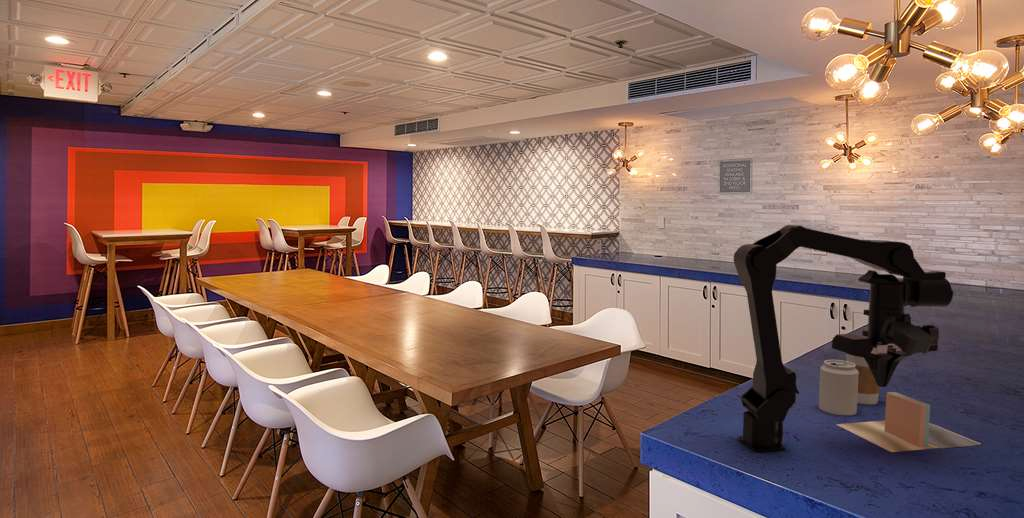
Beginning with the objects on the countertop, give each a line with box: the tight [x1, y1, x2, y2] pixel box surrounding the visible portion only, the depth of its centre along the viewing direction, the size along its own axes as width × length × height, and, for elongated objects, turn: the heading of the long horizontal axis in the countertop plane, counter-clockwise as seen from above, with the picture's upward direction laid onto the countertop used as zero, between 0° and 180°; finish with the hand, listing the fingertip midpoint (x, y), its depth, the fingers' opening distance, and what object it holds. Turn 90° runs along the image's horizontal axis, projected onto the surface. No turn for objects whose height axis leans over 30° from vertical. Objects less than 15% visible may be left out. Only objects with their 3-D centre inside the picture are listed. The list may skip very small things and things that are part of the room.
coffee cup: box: [845, 353, 881, 405], centre depth 136 cm, size 8×8×15 cm
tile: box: [884, 391, 931, 447], centre depth 114 cm, size 2×8×8 cm, turn 11°
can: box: [818, 359, 859, 416], centre depth 130 cm, size 8×8×12 cm
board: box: [836, 420, 982, 453], centre depth 116 cm, size 20×14×1 cm
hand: (882, 386), depth 112 cm, fingers closed
